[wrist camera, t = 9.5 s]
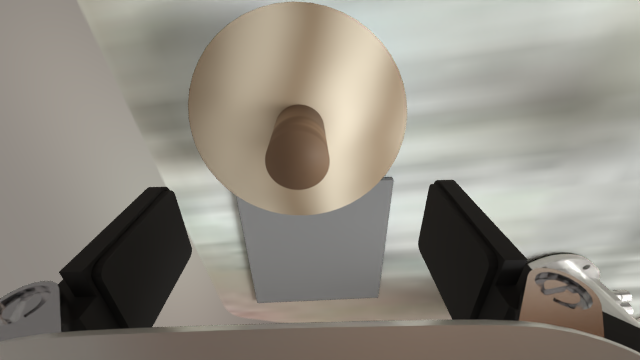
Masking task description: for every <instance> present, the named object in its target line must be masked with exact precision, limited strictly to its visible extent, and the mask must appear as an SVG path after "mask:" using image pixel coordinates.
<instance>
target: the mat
mask: <svg viewBox="0 0 640 360" xmlns="http://www.w3.org/2000/svg"><path fill="white" fill-rule="evenodd" d="M392 188H393V178H392V177H385V178H382V179H381V180H380V181H379V183H378V184H376V185H375V186H374V187H373V188H372V189H371V190H370V191H369V192H367V193H366V194H365V195H363V196H362V197H361V198H359V199H357V200H356V201H354V202H352V203H350V204H348V205H346V206H344V207H341V208H339V209H336V210H333V211H330V212H326V213H321V214H315V215H286V214H280V213H275V212H271V211H267V210H265V209H262V208H259V207H256V206H254V205H252V204H250V203H248V202H246V201H244V200H243V199H241V198H239V197H238V196H236V198H237V203H238V208H239V213H240V218H241V223H242V228H243V233H244V238H245V243H246V248H247V253H248V258H249V263H250V268H251V273H252V278H253V283H254V288H255V293H256V299H257V303H270V302H292V301H313V300H335V299H357V298H378V294H379V286H380V279H381V271H382V264H383V256H384V249H385V241H386V233H387V226H388V218H389V211H390V203H391V195H392Z"/></svg>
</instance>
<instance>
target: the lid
mask: <svg viewBox="0 0 640 360" xmlns="http://www.w3.org/2000/svg"><path fill="white" fill-rule="evenodd" d="M188 111H189V122H190V127H191V132H192V135H193V138H194V141H195V144H196V147H197V149H198V151H199V153H200V155H201V157H202V159H203V161H204V162H205V164H206V165H207V167H208V168H209V170H210V171H211V172H212V173H213V175H214V176H215V177H216V178H217V179H218V180H219V181H220V182H221V183H222V184H223V185H224V186H225V187H226V188H227V189H228V190H230V191H231V192H232V193H234V194H235V195H236V196H238V197H239V198H241V199H243V200H244V201H246V202H248V203H250V204H252V205H254V206H256V207H259V208H262V209H265V210H267V211H271V212H275V213H280V214H286V215H315V214H321V213H326V212H330V211H333V210H336V209H339V208H341V207H344V206H346V205H348V204H350V203H352V202H354V201H356V200H357V199H359V198H361V197H362V196H363V195H365V194H366V193H367V192H369V191H370V190H371V189H372V188H373V187H374V186H375V185H376V184H378V183H379V181H380V180H381V179H382V178H383V177H384V176H385V174H386V173H387V172H388V170H389V169H390V167H391V166H392V164H393V163H394V161H395V159H396V156H397V154H398V152H399V150H400V147H401V144H402V141H403V138H404V133H405V129H406V120H407V102H406V94H405V89H404V84H403V81H402V78H401V75H400V72H399V70H398V68H397V66H396V64H395V62H394V60H393V58H392V56H391V55H390V53H389V52H388V50H387V49H386V47H385V46H384V45H383V43H382V42H381V41H380V40H379V39H378V38H377V37H376V36H375V35H374V34H373V33H372V32H371V31H370V30H369V29H368V28H366V27H365V26H364V25H363V24H361V23H360V22H359V21H357V20H356V19H354V18H352V17H350V16H348V15H347V14H345V13H343V12H341V11H338V10H335V9H333V8H330V7H327V6H323V5H318V4H314V3H307V2H284V3H275V4H271V5H267V6H263V7H259V8H257V9H255V10H252V11H250V12H248V13H245V14H243V15H242V16H240V17H238V18H237V19H235V20H234V21H232V22H231V23H229V24H228V25H227V26H226V27H225V28H223V29H222V30H221V31H220V32H219V33H218V34H217V35H216V36H215V37H214V38H213V40H212V41H211V42H210V43H209V45H208V46H207V47H206V49H205V50H204V52H203V54H202V56H201V57H200V59H199V61H198V63H197V66H196V68H195V71H194V73H193V76H192V81H191V85H190V89H189V100H188Z"/></svg>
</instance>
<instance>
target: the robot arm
mask: <svg viewBox="0 0 640 360" xmlns="http://www.w3.org/2000/svg"><path fill="white" fill-rule="evenodd" d="M418 245H419V250H420V252H421V255H422V257H423V259H424V261H425V263H426V265H427V267H428V269H429V271H430V273H431V276H432V278H433V280H434V282H435V284H436V286H437V288H438V290H439V292H440V294H441V296H442V299H443V301H444V303H445V305H446V307H447V309H448V311H449V313H450V315H451V317H452V320H397V321H352V322H313V323H276V324H245V325H244V324H242V325H214V326H213V325H211V326H184V327H183V326H180V327H152V326H153V324H154V323H155V321H156V319H157V317H158V315H159V313H160V312H161V310H162V308H163V306H164V304H165V302H166V300H167V299H168V297H169V295H170V293H171V291H172V290H173V288H174V286H175V284H176V282H177V280H178V278H179V277H180V275H181V273H182V271H183V269H184V268H185V266H186V264H187V262H188V260H189V258H190V256H191V252H192V248H191V244H190V241H189V238H188V235H187V231H186V228H185V225H184V222H183V219H182V215H181V212H180V209H179V206H178V203H177V199H176V196H175V194H174V192H173V191H170V190H169V189H168V188H167V187H149V188H147V189H146V190H145V191H144V192H143V193H142V194H141V195H140V196H139V197H138V198H137V199H135V200H134V201H133V202H132V203H131V204H130V205H129V206H128V207H127V208H126V209H125V210H124V211H123V212H122V213H121V214H120V215H119V216H118V217H117V218H116V219H114V221H112V222H111V223H110V224H109V225H108V226H107V227H106V228H105V229H104V230H103V231H102V232H101V233H100V234H99V235H98V236H97V237H95V239H93V240H92V241H91V242H90V243H89V244H88V245H87V246H86V247H85V248H84V249H83V250H82V251H81V252H80V253H79V254H78V255H77V256H75V257H74V258H73V259H72V260H71V261H70V262H69V263H68V264H67V265H66V266H65V267H64V268H63V269H62V270H61V271H60V272H59V273H60V275H61V276H62V278H63V280H62V281H61V282H60V283H59V284H57V283H55V282H53V281H40V282H35V283H31V284H28V285H25V286H22V287H20V288H18V289H16V290H14V291H12V292H10V293H8V294H7V295H5V296H3V297H2V298H0V360H640V323H639V322H638V321H637V320H636V319H635V318H634V317H633V316H631V315H632V314H633V308H632V306H631V305H630V304H629V303H628V302H626V301H631V300H632V295H631V294H630V292H628V291H627V290H613V291H610V290H609V289H608V288H607V287H606V286H605V285H604V284H602V283H601V282H600V278H601V277H600V271H599V269H598V268H597V266H595V265H594V264H593V263H592V262H591V261H590V260H588V259H587V258H585V257H583V256H580V255H575V254H557V255H552V256H547V257H544V258H540V259H538V260H535V261H533V262H530V263H528V264H527V263H526V262H527V259H526V257H525V256H524V255H523V254H522V253H521V252H520V251H519V250H518V249H517V248H516V247H515V246H514V245H513V243H512V242H511V241H510V240H509V239H508V238H507V237H506V236H505V235H504V234H503V233H502V232H501V231H500V229H499V228H498V227H497V226H496V225H495V224H494V223H493V222H492V221H491V220H490V219H489V218H488V216H487V215H486V214H485V213H484V212H483V211H482V210H481V209H480V208H479V207H478V206H477V205H476V204H475V202H474V201H473V200H472V199H471V198H470V197H469V196H468V195H467V194H466V193H465V192H464V191H463V190H462V188H461V187H460V186H459V185H458V184H457V183H456V182H455V181H454V180H437V181H435V183H434V184H431V185H430V187H429V191H428V196H427V201H426V206H425V211H424V216H423V221H422V226H421V231H420V236H419V242H418Z"/></svg>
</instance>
